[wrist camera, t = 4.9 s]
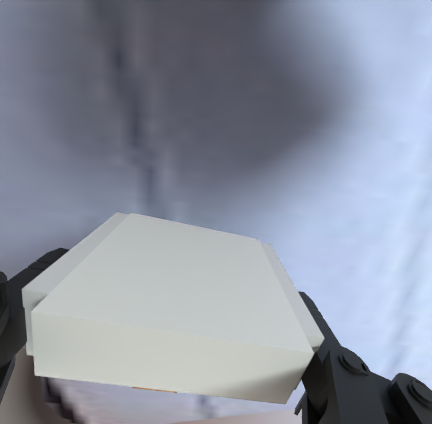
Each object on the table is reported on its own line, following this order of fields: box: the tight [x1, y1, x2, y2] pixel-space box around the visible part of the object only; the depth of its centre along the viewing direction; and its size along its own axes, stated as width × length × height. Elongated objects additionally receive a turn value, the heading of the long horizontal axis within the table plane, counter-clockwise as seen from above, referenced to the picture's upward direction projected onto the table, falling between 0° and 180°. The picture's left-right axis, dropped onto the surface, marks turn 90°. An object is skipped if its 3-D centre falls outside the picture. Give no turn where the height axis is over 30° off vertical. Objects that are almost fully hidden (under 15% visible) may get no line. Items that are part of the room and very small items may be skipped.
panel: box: [31, 213, 314, 404], centre depth 10 cm, size 2×8×8 cm, turn 76°
